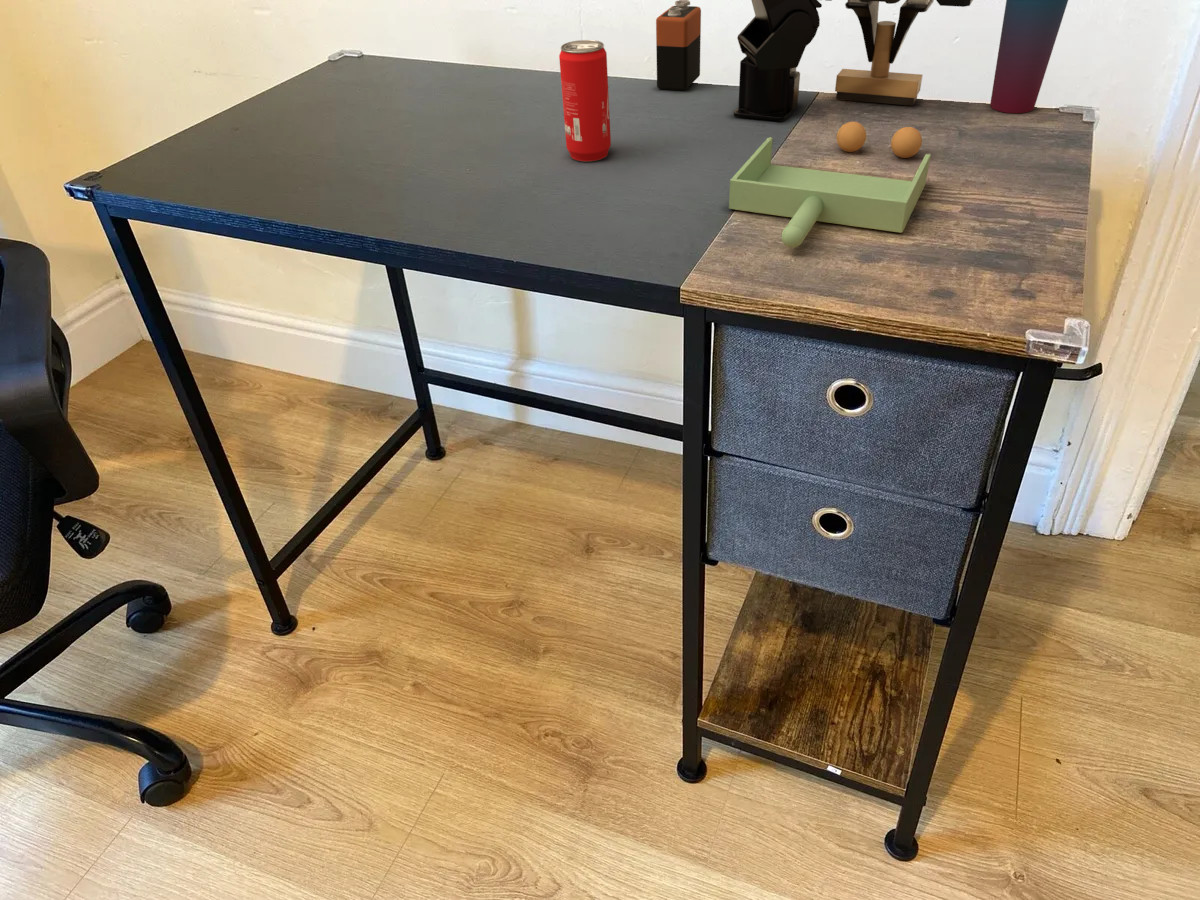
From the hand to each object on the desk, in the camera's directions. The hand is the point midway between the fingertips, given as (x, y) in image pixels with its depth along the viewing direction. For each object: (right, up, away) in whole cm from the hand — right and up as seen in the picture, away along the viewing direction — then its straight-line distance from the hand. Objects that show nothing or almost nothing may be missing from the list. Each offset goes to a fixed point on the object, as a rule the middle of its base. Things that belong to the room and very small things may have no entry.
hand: (881, 62), depth 109 cm
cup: (+15, -6, -2) cm, 17 cm away
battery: (-24, +3, +13) cm, 27 cm away
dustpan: (-13, -25, -22) cm, 36 cm away
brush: (0, -4, +3) cm, 4 cm away
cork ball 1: (-7, -13, -11) cm, 18 cm away
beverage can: (-36, -14, -6) cm, 39 cm away
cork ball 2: (-1, -15, -13) cm, 20 cm away
